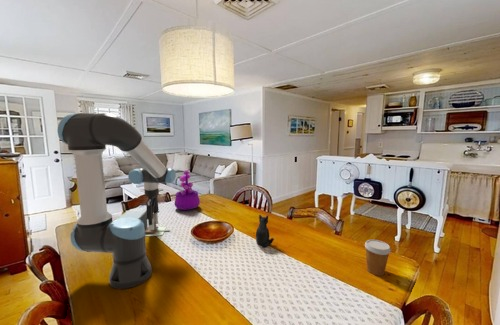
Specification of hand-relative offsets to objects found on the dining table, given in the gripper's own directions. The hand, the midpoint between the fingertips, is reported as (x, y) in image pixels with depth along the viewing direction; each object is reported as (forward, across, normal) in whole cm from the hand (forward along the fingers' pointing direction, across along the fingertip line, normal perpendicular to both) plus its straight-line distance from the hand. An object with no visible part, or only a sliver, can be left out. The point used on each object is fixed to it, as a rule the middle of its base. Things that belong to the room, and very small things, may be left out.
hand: (153, 226), depth 133 cm
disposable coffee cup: (+3, -52, -104) cm, 116 cm away
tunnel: (+3, 0, +7) cm, 8 cm away
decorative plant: (+3, +41, -14) cm, 43 cm away
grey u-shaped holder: (+2, 0, +6) cm, 7 cm away
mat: (+3, 0, -1) cm, 3 cm away
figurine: (+4, -23, -62) cm, 66 cm away
